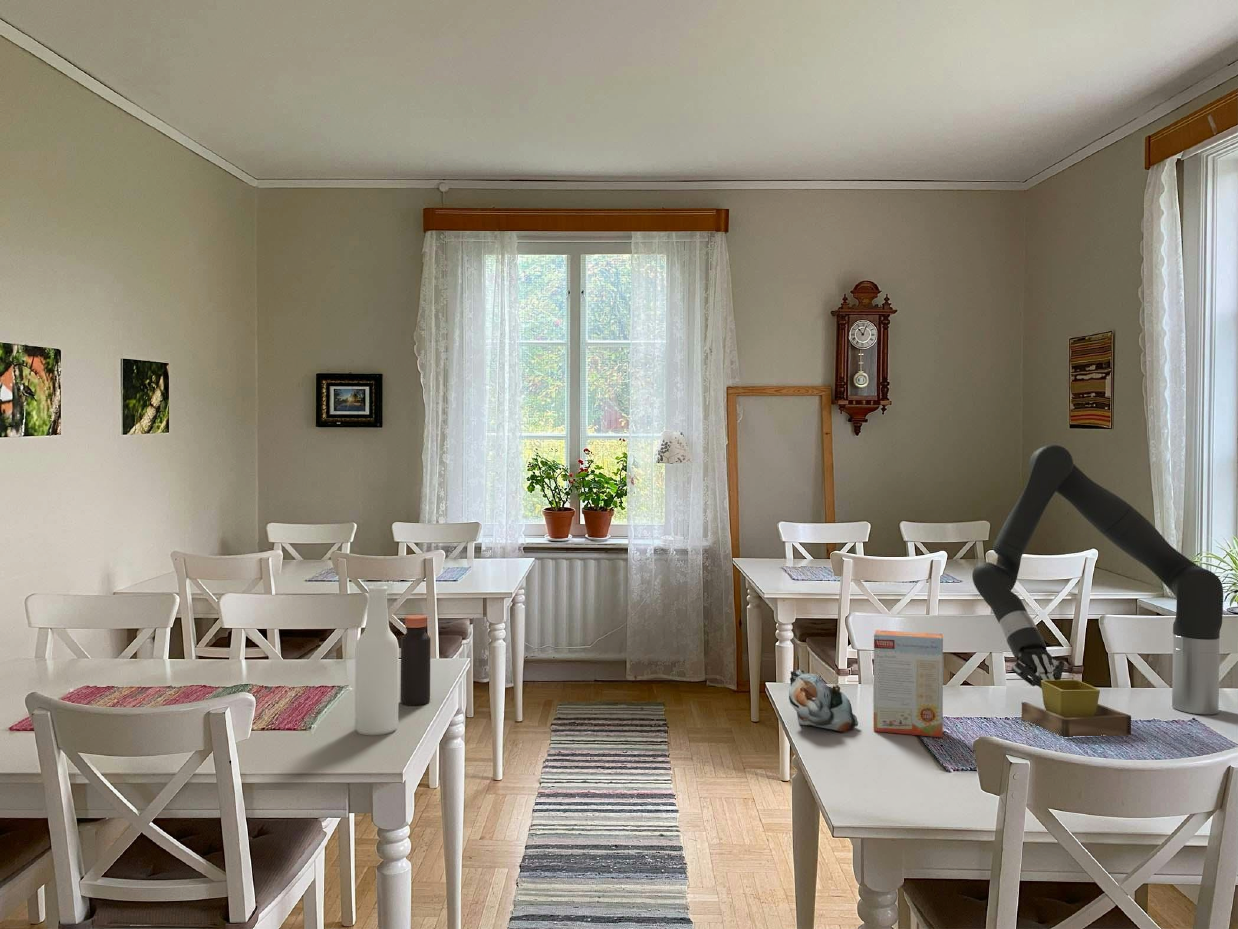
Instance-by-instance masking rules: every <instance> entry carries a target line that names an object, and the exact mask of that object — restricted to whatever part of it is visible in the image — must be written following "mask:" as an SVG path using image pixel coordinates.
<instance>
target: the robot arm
mask: <svg viewBox="0 0 1238 929" xmlns="http://www.w3.org/2000/svg"><path fill="white" fill-rule="evenodd" d="M1029 469H1030V473H1029V477H1028V479H1027V482H1026V485H1025V487H1024V489H1023V491H1022V494H1021V495H1020V497H1019V499H1018V501H1017V502H1016V503H1015V505H1014V507H1013V508H1012V510H1011V512H1010V513H1009V514H1008V517H1007V518H1006V519H1005V522H1004V523H1003V525H1002V527H1001V528H1000V531H999V533H998V535H997V537H996V539H995V541H994V543H993V545H992V546H993V547H992V550H993V552H994V553H995V554H996V555H997V559H996V564H995V563H992V562H988V561H984V562H980V563H978V564H977V565H976V566H975V567H974V569H973V571H972V574H971V575H972V578H971V579H972V583H973V586H974V588H975V589H976V591H977V592H978V593H979V595H980V596H981V597H982V598H983V600H984V601H985V602H986V604H987V605H988V606H989V607H990V608H991V610H992V612H993V614H994V615H993V616H995V618H996V621H997V622H998V624H999V627H1000V630H1001V633H1002V635H1003V637H1004V639H1005V641H1006V643H1007V645H1008V647H1009V649H1010V652H1011V653H1012V655H1013V657H1014V658H1015V659H1016V663H1015V664H1014V665H1013V666H1012V667H1011V671H1012V672H1013V673H1015V674H1016V676H1018V677H1020V678H1021V679H1022V680H1023V681H1025V682H1026V683H1028V685H1030V686H1032V687H1035V686H1037V687H1038V688H1039V689H1041V690H1042V685H1041V680H1062V675H1063V671H1064V667H1065V661H1063V660H1059V661H1057V660H1055V659H1053V656H1052V654H1050V653H1049V652H1048V650H1047V644H1046V643H1045V640H1044V639H1043V638H1044V637H1043V636H1042V635H1041V633H1040V631H1039V629H1038V627H1037V625H1036V622H1035V621H1034V619H1033V618H1032V617H1031V616H1030V614H1029V613H1028V611H1027V609H1026V607H1025V605H1024V603H1023V601H1022V599H1021V598H1020V597H1019V595H1017V594H1016V593H1014V592H1013V591H1012V590H1013V589H1014V587H1015V585H1016V583H1017V580H1018V575H1019V571H1020V568H1021V561H1022V557H1023V555H1024V553H1025V551H1026V550H1027V547H1028V546H1029V543H1030V542H1031V539H1032V537H1033V535H1034V533H1035V531H1036V528H1037V526H1038V524H1039V522H1040V520H1041V518H1042V516H1043V513H1044V512H1045V510H1046V508H1047V506H1048V504H1049V503H1050V501H1051V499H1052V498H1053V496H1054V495H1055V493H1057V494H1059V496H1062V497H1063V498H1064V499H1065V500H1067V502H1068V503H1070V504H1071V505H1072V506H1073V507H1074V508H1075V509H1076V510H1077V511H1078V512H1079V513H1080V514H1081V515H1082V516H1083V518H1084V519H1086V520H1087V521H1088V523H1090V524H1091V525H1092V526H1093V527H1094V528H1095V529H1096V530H1098V531H1099V533H1100V534H1102V536H1104V537H1105V538H1107V540H1108V541H1110V542H1111V543H1112V544H1114V545H1115V546H1116V547H1117V548H1119V550H1122V551H1123V553H1125V554H1127V555H1128V556H1130V557H1131V558H1133V559H1134V560H1136V561H1137V562H1139V563H1140V564H1142V565H1143V566H1145V567H1146V568H1147V569H1148V570H1150V571H1151V572H1152V573H1153V574H1154V575H1155V576H1156V577H1157V578H1158V579H1159V580H1160V581H1161V582H1162V583H1163V584H1164V585H1165V586H1166V587H1167V589H1169V591H1171V594H1173V595H1174V596H1175V597H1176V612H1175V618H1174V619H1175V620H1174V621H1173V624H1172V692H1171V696H1172V697H1171V706H1172V707H1171V708H1173V709H1175V710H1177V711H1180V712H1185V713H1190V714H1194V715H1195V714H1197V715H1216V714H1219V708H1220V706H1219V705H1220V704H1219V701H1220V700H1219V698H1220V633H1221V629H1222V624H1223V613H1224V588H1223V583H1222V581H1221V579H1220V578H1219V577H1218V575H1216V574H1215V573H1214V572H1212V571H1211V570H1208V569H1205V568H1204V567H1202V566H1200V565H1198V563H1197V564H1196V563H1195V562H1194V561H1192V560H1190V558H1188V557H1187V556H1185V555H1183V554H1182V553H1181V552H1180V551H1178V550H1177V549H1176V548H1174V547H1173V546H1172V545H1171V544H1170V543H1169V542H1168V541H1167V540H1166V539H1165V538H1164V536H1163V535H1162V534H1161V533H1160V531H1159V530H1157V529H1156V527H1155V526H1154V525H1153V523H1151V521H1149V520H1148V519H1147V517H1145V516H1144V515H1143V514H1141V513H1140V512H1139V511H1138V510H1137V509H1135V508H1134V507H1133V506H1132V505H1131V504H1129V503H1128V502H1127V501H1125V500H1124V499H1122V498H1121V497H1119V496H1118V495H1117V494H1115V493H1113V492H1112V491H1110V490H1108V489H1106V488H1105V487H1103V486H1101V485H1099V484H1098V483H1096V482H1095V481H1093V480H1092V479H1091V478H1090V477H1088V476H1087V475H1086V474H1085V473H1084V472H1083V471H1082V470H1081V469H1080V468H1079V467H1078V466H1077V465H1076V464H1075V463H1074V459H1073V456H1072V454H1071V452H1070V451H1069V450H1068V449H1067V448H1065V447H1064V446H1061V445H1059V444H1049V445H1044V446H1042V447H1040V448H1038V449H1036V450H1035V451H1034V452H1033V453H1031V456H1030V459H1029Z"/></svg>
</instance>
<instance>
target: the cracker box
mask: <svg viewBox="0 0 1238 929" xmlns="http://www.w3.org/2000/svg"><path fill="white" fill-rule="evenodd" d="M943 636H944V635H943V633H933V632H917V631H902V630H901V631H899V630H881V629H876V630H875V632H874V634H873V716H872V717H873V718H872V719H873V720H872V721H873V731H874V732H879V733H891V734H900V735H913V736H923V737H933V738H943V733H944V732H943V731H944V729H943V728H944V725H943V724H944V723H943V722H944V716H943V714H944V708H943V707H944V705H943V704H944V698H943V697H944V696H943V695H944V694H943V693H944V689H943V688H944V687H943V686H944V685H943V684H944V682H943V681H944V679H943V678H944V671H943V670H944V666H943V664H944V660H943V659H944V658H943V657H944V651H943V650H944V638H943Z"/></svg>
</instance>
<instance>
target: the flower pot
mask: <svg viewBox="0 0 1238 929" xmlns="http://www.w3.org/2000/svg"><path fill="white" fill-rule="evenodd" d="M1041 685H1042V689H1041V693H1042V702H1043V705H1044V710H1047V711H1049V712H1052V713H1054V714H1057V715H1059V716H1062V717H1064V718H1077V717H1094V716H1095V713H1096V710H1097V705H1098V704H1099V703H1098V702H1099V699H1100V692H1101V690H1100V689H1099V688H1097V687H1095V686H1093V685H1090V684H1087V683H1085V682H1083V681H1082V680H1078V679H1060V680H1041Z"/></svg>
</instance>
